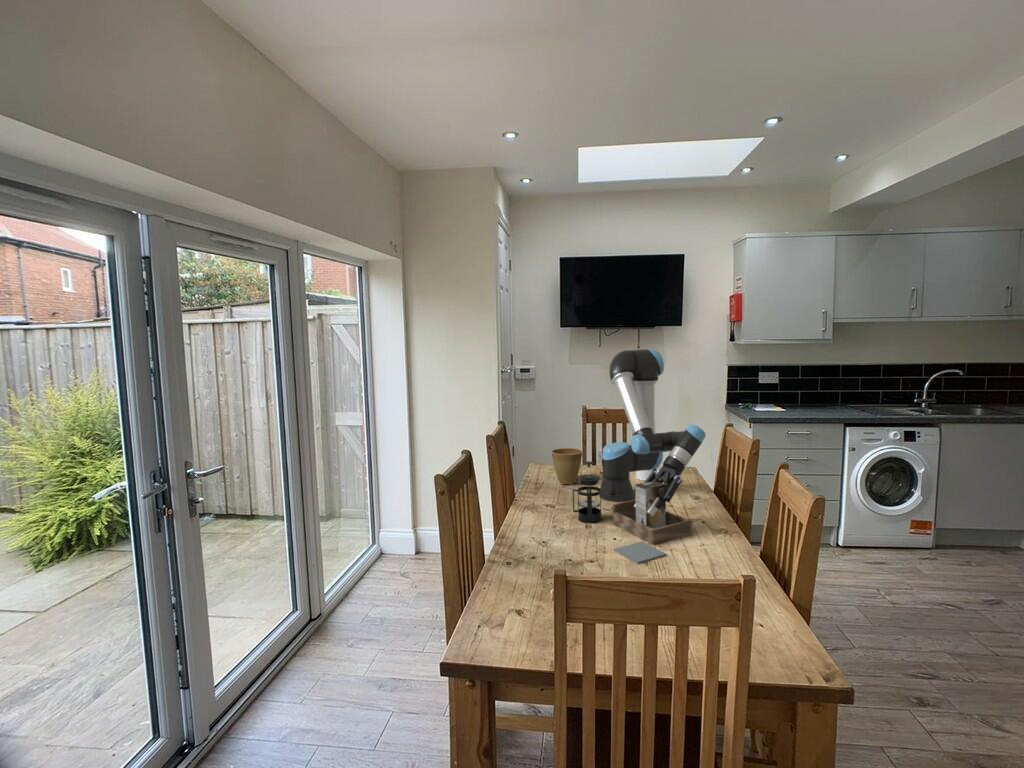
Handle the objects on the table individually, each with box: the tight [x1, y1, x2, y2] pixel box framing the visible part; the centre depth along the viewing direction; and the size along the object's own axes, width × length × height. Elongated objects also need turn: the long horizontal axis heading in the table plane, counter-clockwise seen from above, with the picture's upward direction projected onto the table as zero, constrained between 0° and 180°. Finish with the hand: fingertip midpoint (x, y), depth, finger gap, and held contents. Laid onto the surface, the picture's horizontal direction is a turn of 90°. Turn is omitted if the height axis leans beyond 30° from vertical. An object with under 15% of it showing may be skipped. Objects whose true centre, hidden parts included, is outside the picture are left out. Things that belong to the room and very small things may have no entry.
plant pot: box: [551, 447, 583, 485], centre depth 258 cm, size 15×15×16 cm
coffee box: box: [634, 481, 667, 529], centre depth 195 cm, size 9×6×16 cm
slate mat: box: [613, 540, 667, 565], centre depth 176 cm, size 12×12×1 cm
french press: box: [572, 460, 603, 524], centre depth 208 cm, size 12×9×23 cm
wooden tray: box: [612, 498, 692, 546], centre depth 196 cm, size 22×17×8 cm
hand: (643, 511), depth 194 cm, fingers closed on coffee box, 7 cm apart
